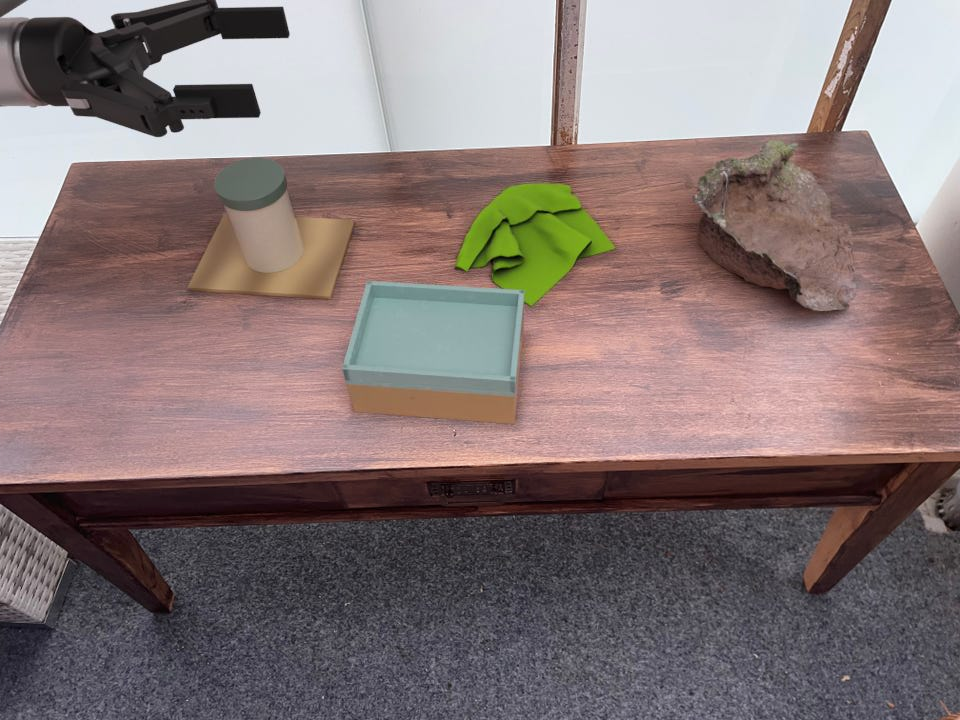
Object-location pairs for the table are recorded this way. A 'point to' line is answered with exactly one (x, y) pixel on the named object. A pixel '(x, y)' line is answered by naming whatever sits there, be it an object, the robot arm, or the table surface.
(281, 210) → the jar
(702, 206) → the rock
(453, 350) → the teal and tan box
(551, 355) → the table surface
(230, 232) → the mat
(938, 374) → the table surface
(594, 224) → the cloth
